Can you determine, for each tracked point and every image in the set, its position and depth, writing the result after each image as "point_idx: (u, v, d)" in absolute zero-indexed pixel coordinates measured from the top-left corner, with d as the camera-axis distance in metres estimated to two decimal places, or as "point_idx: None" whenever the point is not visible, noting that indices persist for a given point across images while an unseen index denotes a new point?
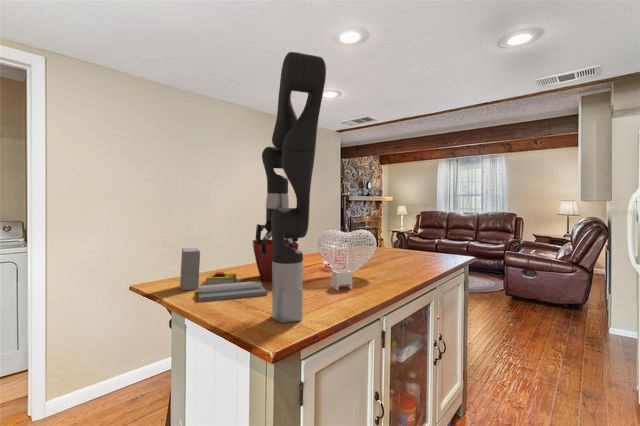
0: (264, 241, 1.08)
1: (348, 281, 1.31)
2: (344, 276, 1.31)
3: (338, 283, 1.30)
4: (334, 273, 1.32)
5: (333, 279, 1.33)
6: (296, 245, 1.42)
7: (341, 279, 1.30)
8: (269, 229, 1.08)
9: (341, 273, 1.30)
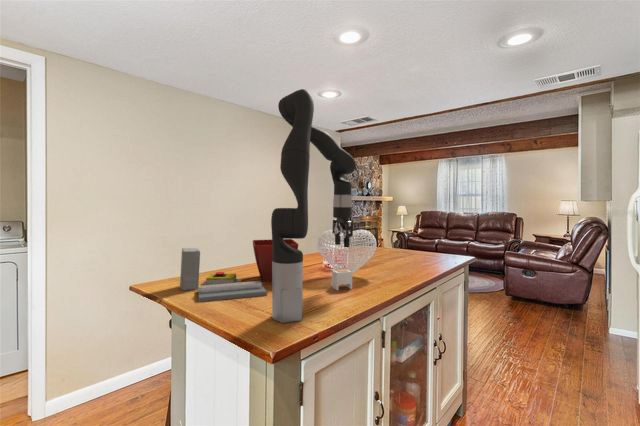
0: None
1: (348, 281, 1.31)
2: (344, 276, 1.31)
3: (338, 283, 1.30)
4: (334, 273, 1.32)
5: (333, 279, 1.33)
6: (296, 245, 1.42)
7: (341, 279, 1.30)
8: None
9: (341, 273, 1.30)
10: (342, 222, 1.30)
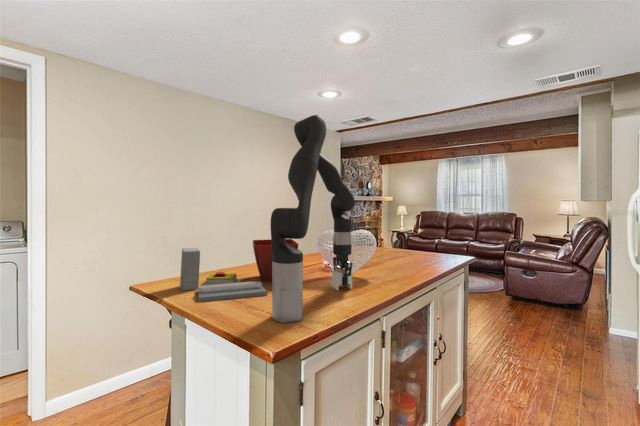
0: None
1: (348, 281, 1.31)
2: None
3: (338, 283, 1.30)
4: (334, 273, 1.32)
5: (333, 279, 1.33)
6: (296, 245, 1.42)
7: (341, 279, 1.30)
8: None
9: (341, 273, 1.30)
10: (342, 260, 1.30)
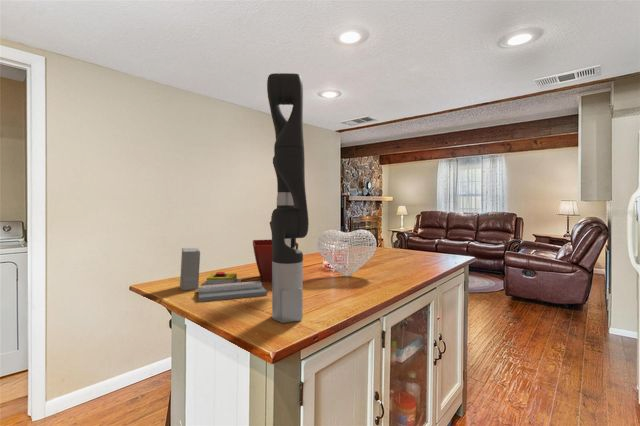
0: None
1: None
2: None
3: (289, 245, 1.24)
4: None
5: None
6: (296, 245, 1.42)
7: (290, 241, 1.26)
8: None
9: None
10: None
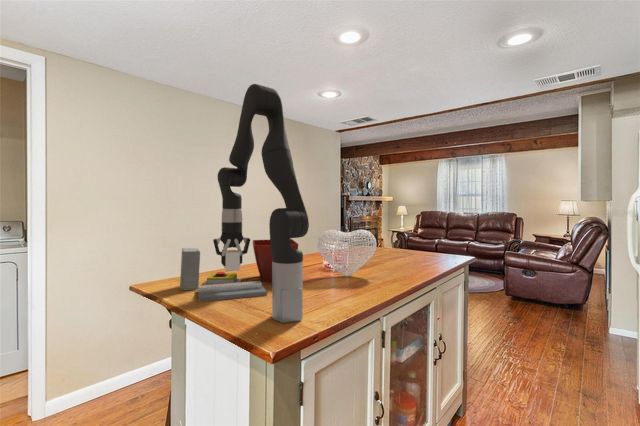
0: None
1: None
2: None
3: None
4: (233, 254, 1.21)
5: (229, 261, 1.20)
6: (296, 245, 1.42)
7: None
8: None
9: (238, 252, 1.23)
10: (239, 239, 1.23)
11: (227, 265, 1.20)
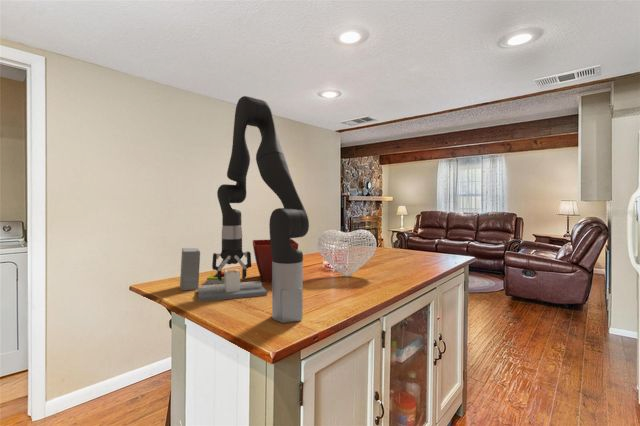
0: None
1: None
2: None
3: (239, 283, 1.23)
4: (233, 275, 1.21)
5: (229, 282, 1.20)
6: (296, 245, 1.42)
7: None
8: None
9: None
10: (239, 254, 1.24)
11: (227, 286, 1.20)
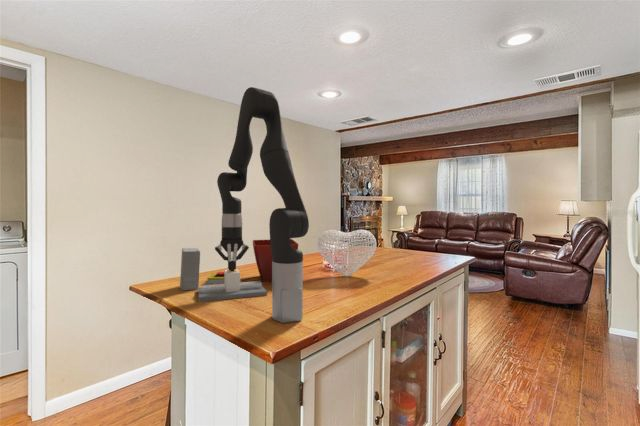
0: None
1: None
2: None
3: (239, 283, 1.23)
4: (233, 275, 1.21)
5: (229, 282, 1.20)
6: (296, 245, 1.42)
7: None
8: None
9: None
10: (239, 245, 1.24)
11: (227, 286, 1.20)
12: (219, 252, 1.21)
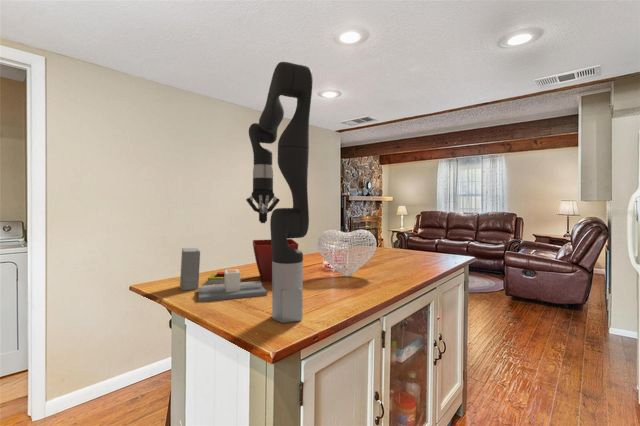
0: None
1: None
2: None
3: (239, 283, 1.23)
4: (233, 275, 1.21)
5: (229, 282, 1.20)
6: (296, 245, 1.42)
7: None
8: None
9: None
10: (270, 197, 1.23)
11: (227, 286, 1.20)
12: (251, 203, 1.21)
